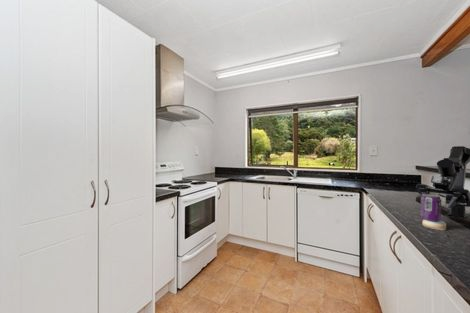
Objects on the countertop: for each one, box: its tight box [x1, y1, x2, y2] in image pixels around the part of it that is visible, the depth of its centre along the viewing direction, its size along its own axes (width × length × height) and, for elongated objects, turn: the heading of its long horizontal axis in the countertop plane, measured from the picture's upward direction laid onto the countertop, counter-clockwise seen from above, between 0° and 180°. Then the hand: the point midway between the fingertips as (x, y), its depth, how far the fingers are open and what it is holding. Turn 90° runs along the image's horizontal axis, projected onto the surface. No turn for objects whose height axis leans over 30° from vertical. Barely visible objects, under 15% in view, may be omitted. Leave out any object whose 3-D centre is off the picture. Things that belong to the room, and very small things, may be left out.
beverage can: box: [419, 193, 442, 222], centre depth 97 cm, size 7×7×12 cm
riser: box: [422, 218, 447, 231], centre depth 95 cm, size 8×8×3 cm
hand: (435, 205), depth 96 cm, fingers open, 9 cm apart
